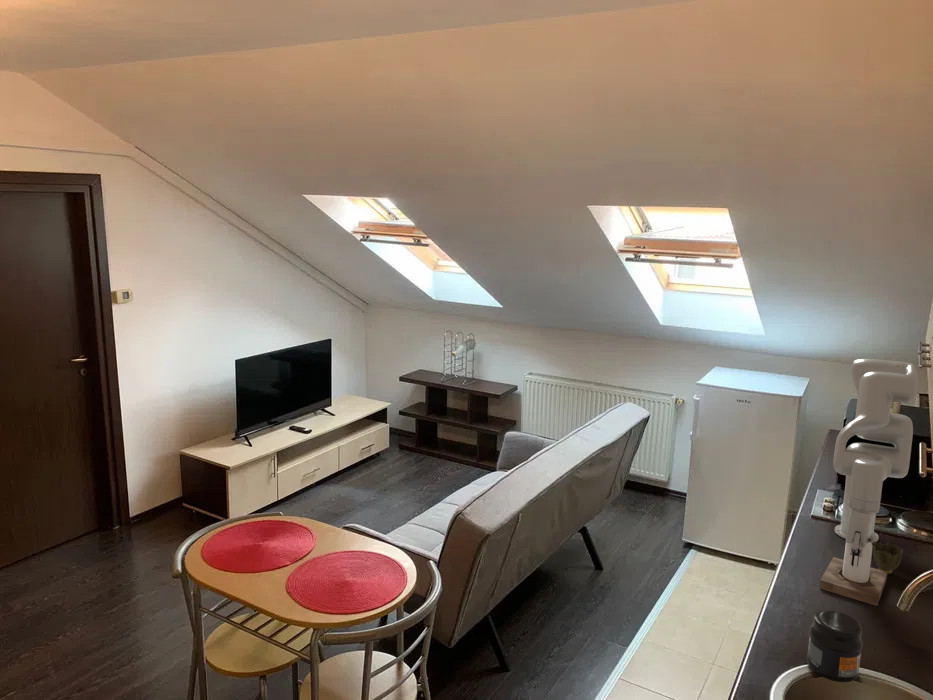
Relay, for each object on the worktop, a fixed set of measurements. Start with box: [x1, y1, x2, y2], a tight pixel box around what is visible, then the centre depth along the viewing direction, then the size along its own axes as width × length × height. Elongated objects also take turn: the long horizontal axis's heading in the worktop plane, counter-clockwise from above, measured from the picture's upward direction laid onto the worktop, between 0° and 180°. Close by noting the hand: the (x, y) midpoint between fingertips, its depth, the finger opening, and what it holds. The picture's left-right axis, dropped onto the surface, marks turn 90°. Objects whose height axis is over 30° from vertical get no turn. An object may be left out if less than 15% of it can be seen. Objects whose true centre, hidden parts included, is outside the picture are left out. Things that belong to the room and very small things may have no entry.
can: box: [842, 538, 873, 583], centre depth 187 cm, size 6×6×12 cm
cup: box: [872, 541, 904, 576], centre depth 196 cm, size 8×7×8 cm
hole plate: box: [819, 556, 888, 607], centre depth 189 cm, size 18×14×2 cm
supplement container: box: [806, 609, 864, 683], centre depth 151 cm, size 10×10×12 cm
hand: (856, 564), depth 188 cm, fingers closed on can, 4 cm apart
